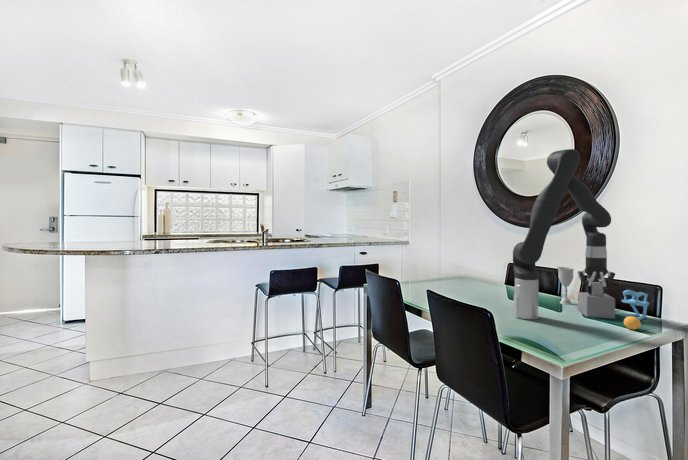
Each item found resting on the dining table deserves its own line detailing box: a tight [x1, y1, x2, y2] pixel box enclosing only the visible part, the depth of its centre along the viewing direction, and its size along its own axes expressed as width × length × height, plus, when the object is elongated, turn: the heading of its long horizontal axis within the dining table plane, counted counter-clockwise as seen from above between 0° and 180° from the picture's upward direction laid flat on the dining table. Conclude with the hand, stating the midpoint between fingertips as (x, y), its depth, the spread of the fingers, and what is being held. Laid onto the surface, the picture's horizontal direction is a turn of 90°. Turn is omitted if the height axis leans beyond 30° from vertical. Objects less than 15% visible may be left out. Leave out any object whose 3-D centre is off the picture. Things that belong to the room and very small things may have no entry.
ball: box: [623, 316, 642, 330], centre depth 127 cm, size 5×5×5 cm
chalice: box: [557, 266, 575, 305], centre depth 166 cm, size 7×7×18 cm
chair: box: [618, 289, 650, 321], centre depth 141 cm, size 8×8×12 cm
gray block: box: [577, 281, 616, 320], centre depth 146 cm, size 10×10×14 cm
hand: (595, 294), depth 146 cm, fingers closed on gray block, 4 cm apart
